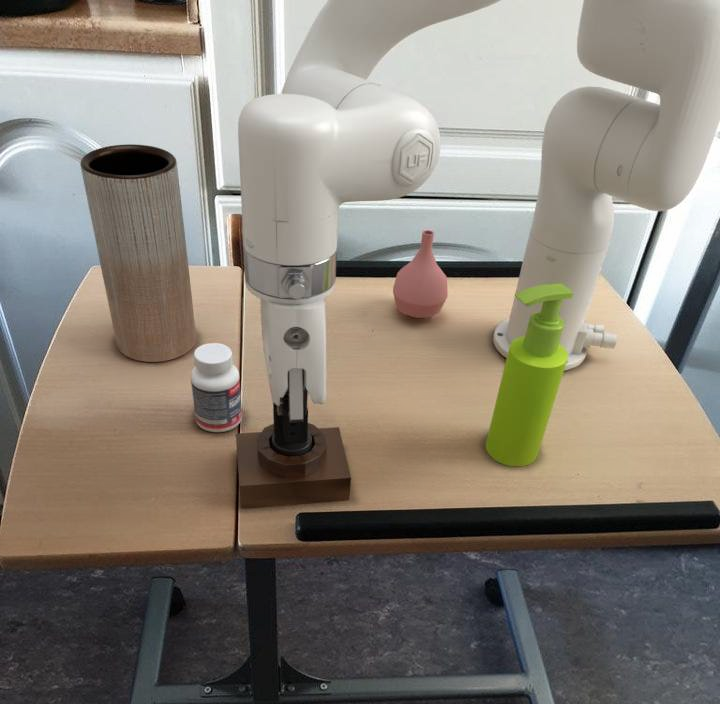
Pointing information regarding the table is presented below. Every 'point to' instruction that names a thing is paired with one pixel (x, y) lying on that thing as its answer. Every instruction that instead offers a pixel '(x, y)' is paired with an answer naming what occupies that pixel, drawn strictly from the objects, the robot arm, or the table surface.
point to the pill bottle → (216, 388)
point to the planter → (141, 249)
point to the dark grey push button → (292, 447)
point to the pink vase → (421, 283)
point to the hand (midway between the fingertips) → (290, 438)
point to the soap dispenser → (529, 380)
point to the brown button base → (292, 470)
